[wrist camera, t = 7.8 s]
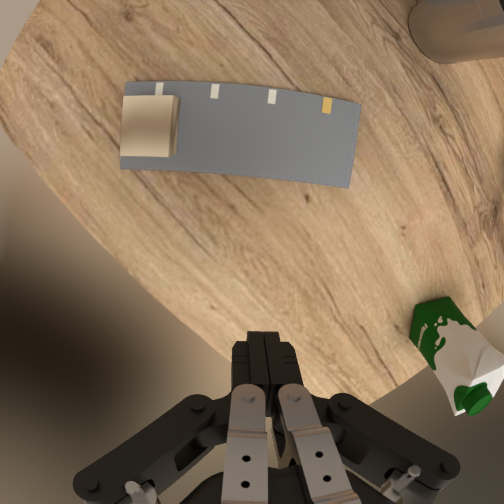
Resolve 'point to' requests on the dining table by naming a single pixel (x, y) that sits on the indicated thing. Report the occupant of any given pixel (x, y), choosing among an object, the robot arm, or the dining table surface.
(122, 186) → the dining table surface
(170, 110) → the knob
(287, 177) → the board
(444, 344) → the soya milk
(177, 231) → the dining table surface
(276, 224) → the dining table surface
